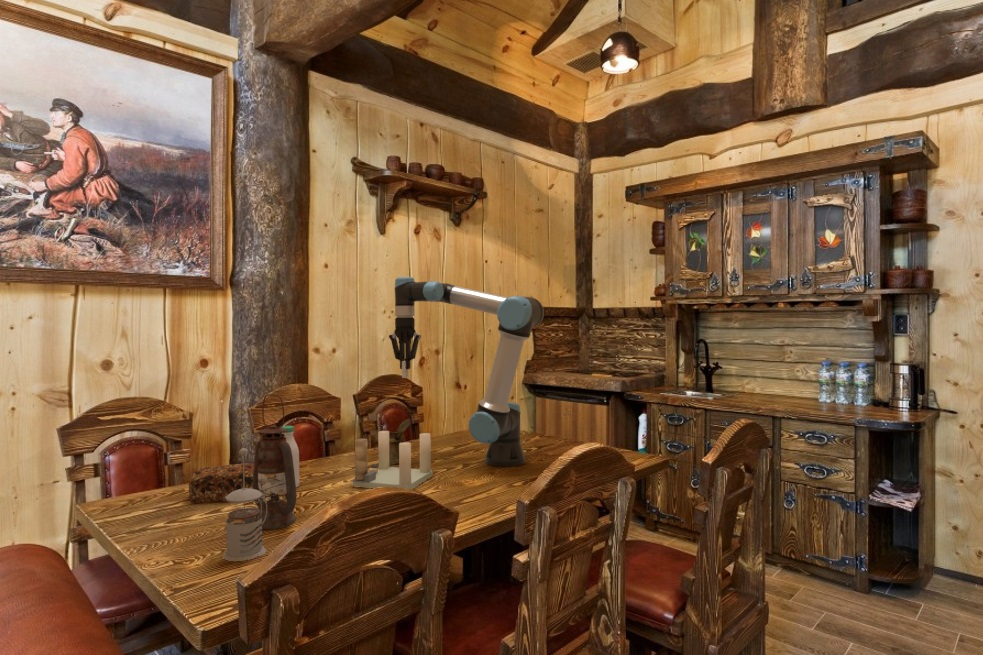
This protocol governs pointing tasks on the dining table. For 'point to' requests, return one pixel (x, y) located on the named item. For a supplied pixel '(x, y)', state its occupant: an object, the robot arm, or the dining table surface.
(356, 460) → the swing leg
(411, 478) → the stool top
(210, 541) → the dining table surface
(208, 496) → the bread
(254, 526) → the french press
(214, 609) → the dining table surface
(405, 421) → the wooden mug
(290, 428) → the milk bottle
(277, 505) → the lantern
